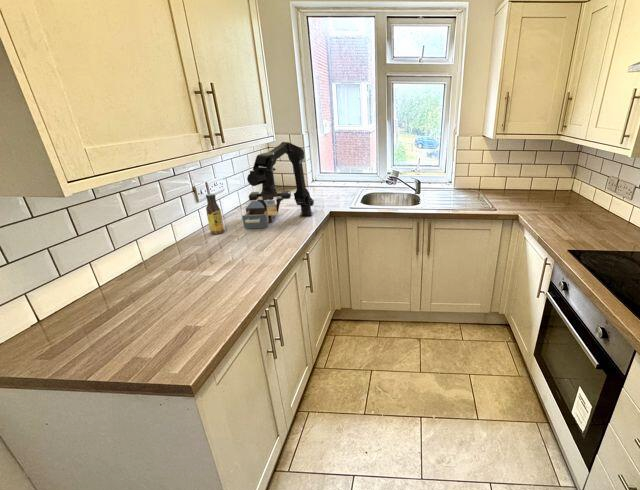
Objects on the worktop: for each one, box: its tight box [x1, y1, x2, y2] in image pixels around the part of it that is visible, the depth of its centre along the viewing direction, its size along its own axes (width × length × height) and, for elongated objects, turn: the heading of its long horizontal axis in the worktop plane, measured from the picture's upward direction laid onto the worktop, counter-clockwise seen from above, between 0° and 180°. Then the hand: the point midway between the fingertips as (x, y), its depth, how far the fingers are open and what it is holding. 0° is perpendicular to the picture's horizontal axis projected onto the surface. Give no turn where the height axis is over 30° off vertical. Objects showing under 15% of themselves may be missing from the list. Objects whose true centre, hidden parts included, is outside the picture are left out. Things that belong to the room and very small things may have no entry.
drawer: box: [241, 209, 270, 229], centre depth 167 cm, size 18×11×7 cm, turn 11°
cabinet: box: [245, 199, 277, 223], centre depth 179 cm, size 15×13×9 cm
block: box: [267, 203, 279, 216], centre depth 158 cm, size 4×4×4 cm
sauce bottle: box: [205, 193, 225, 235], centre depth 157 cm, size 7×6×20 cm
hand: (272, 211), depth 158 cm, fingers closed on block, 4 cm apart
